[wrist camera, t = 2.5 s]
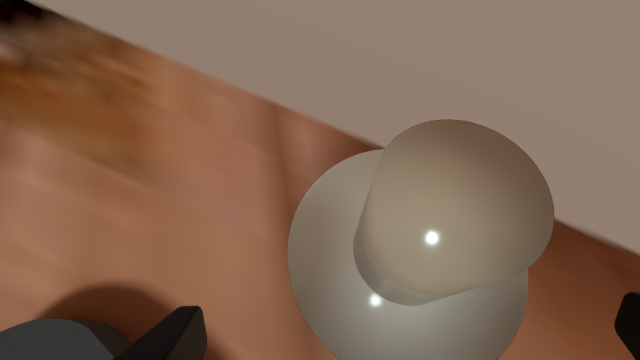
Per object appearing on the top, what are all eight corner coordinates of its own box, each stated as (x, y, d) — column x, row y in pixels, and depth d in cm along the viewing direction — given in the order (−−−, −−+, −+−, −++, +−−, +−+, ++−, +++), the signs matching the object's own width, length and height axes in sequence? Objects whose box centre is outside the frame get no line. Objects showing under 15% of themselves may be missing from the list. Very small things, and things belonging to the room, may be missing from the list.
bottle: (439, 332, 15) (790, 321, 4) (328, 379, 14) (354, 540, 3) (388, 225, 17) (515, 18, 6) (290, 260, 16) (224, 97, 5)
